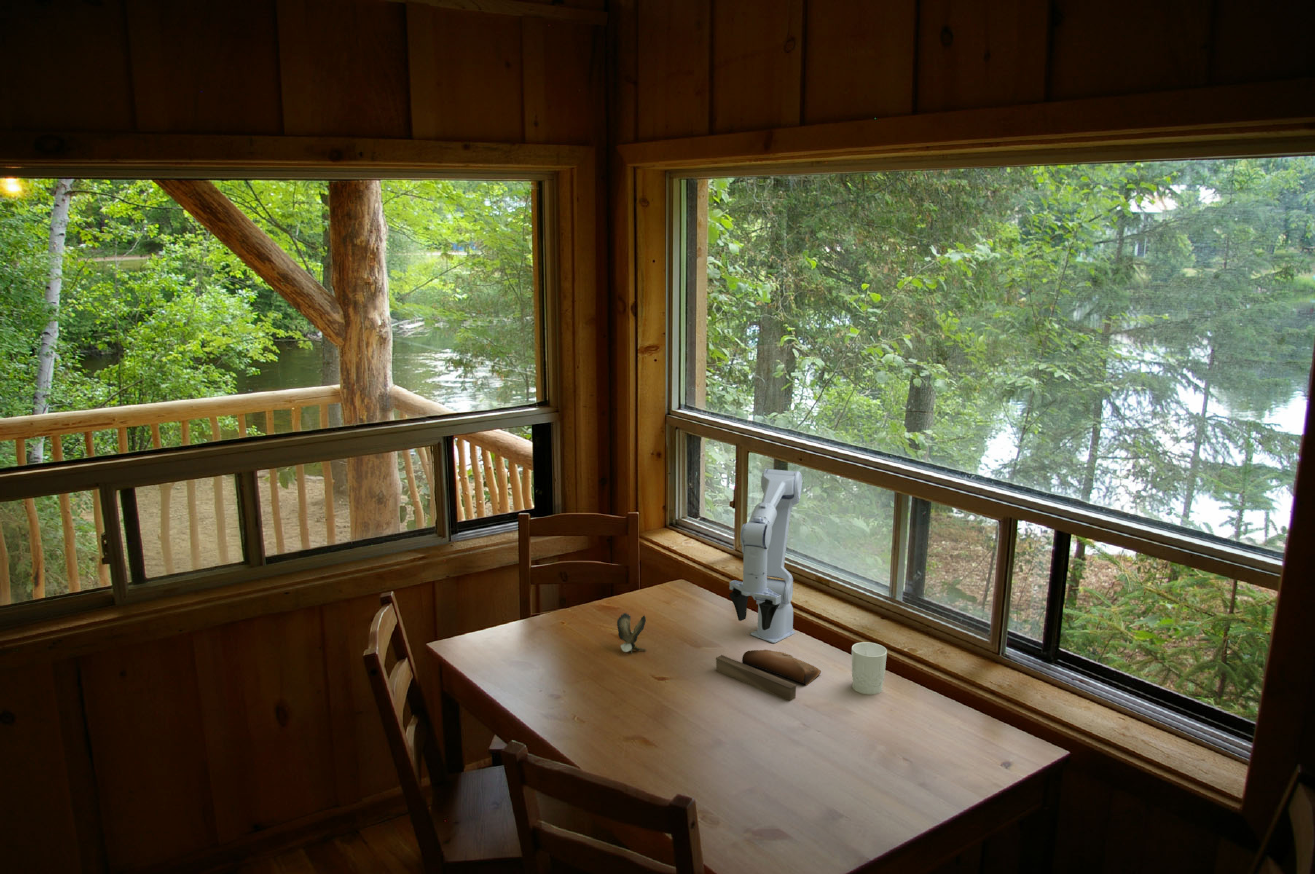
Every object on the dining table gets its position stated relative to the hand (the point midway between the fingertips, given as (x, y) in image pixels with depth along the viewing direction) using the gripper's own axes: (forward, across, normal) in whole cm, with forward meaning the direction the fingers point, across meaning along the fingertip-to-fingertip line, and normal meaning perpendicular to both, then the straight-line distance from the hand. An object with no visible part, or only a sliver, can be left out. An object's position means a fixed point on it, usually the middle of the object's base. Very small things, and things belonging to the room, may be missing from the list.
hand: (753, 624), depth 217 cm
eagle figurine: (+10, -26, -16) cm, 33 cm away
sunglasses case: (+11, +7, +4) cm, 14 cm away
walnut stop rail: (+10, +7, -8) cm, 15 cm away
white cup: (+10, +27, +8) cm, 30 cm away
